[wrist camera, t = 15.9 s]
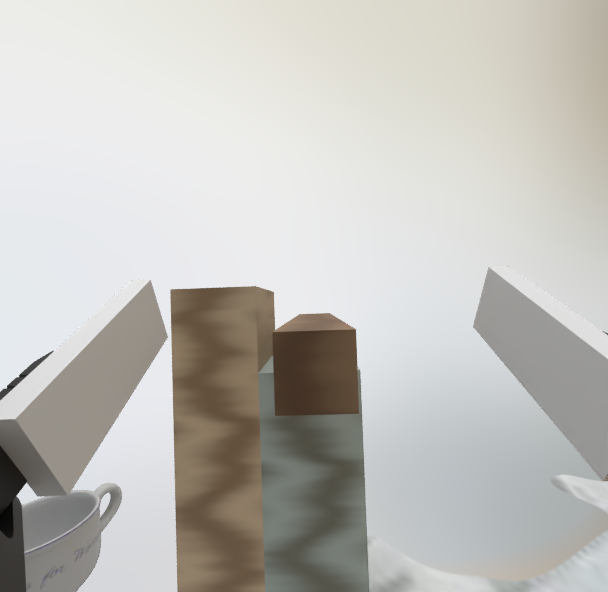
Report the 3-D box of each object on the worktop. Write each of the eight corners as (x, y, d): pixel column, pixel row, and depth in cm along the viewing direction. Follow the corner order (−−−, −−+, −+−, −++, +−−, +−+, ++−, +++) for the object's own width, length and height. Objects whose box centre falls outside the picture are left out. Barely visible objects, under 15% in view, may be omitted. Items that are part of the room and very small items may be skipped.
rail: (275, 415, 13) (272, 332, 13) (300, 344, 37) (299, 314, 37) (359, 413, 13) (355, 329, 13) (330, 343, 37) (329, 313, 37)
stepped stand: (180, 733, 21) (170, 289, 22) (223, 596, 31) (214, 294, 32) (374, 734, 21) (356, 282, 22) (355, 595, 31) (343, 289, 32)
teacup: (-27, 686, 25) (-27, 580, 25) (-49, 611, 31) (-49, 527, 31) (149, 563, 36) (148, 491, 36) (107, 527, 42) (106, 466, 42)
